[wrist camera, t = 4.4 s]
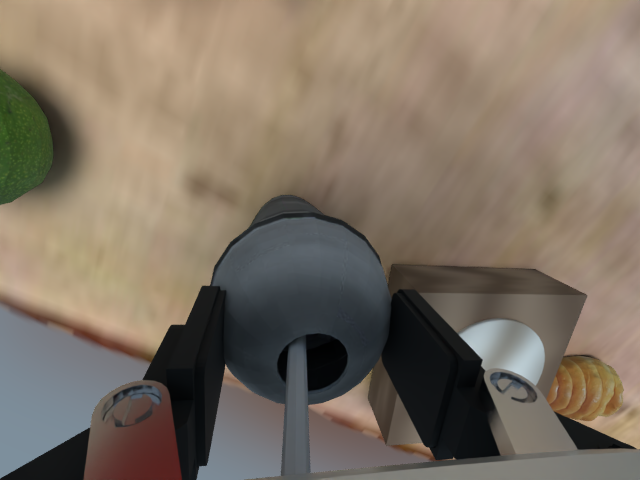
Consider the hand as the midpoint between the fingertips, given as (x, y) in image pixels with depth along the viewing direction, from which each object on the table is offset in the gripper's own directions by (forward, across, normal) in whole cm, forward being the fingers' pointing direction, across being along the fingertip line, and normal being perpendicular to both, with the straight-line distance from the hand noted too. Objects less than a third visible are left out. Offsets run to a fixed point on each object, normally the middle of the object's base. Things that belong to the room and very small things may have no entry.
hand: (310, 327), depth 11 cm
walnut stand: (+14, -16, +10) cm, 23 cm away
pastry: (+14, -31, +16) cm, 38 cm away
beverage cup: (+14, 0, 0) cm, 14 cm away
